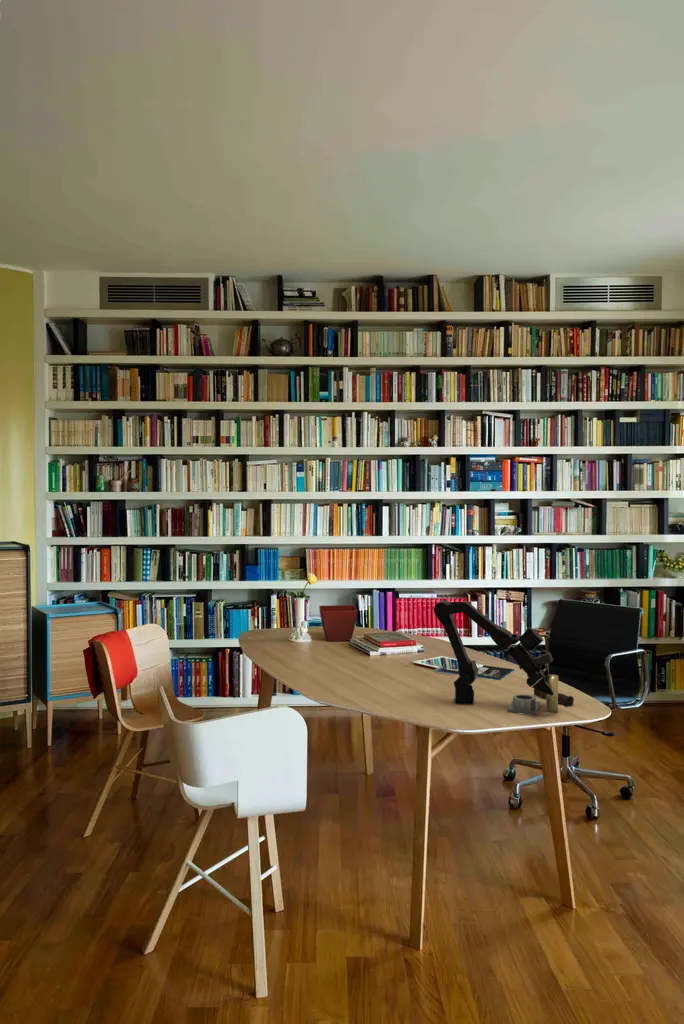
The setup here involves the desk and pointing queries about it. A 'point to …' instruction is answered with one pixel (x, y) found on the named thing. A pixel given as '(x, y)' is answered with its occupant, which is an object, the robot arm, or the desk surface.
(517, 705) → the plate with ring collar
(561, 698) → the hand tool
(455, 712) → the desk surface
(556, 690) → the brass hinge pin
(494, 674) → the sketchbook
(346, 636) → the plant pot
